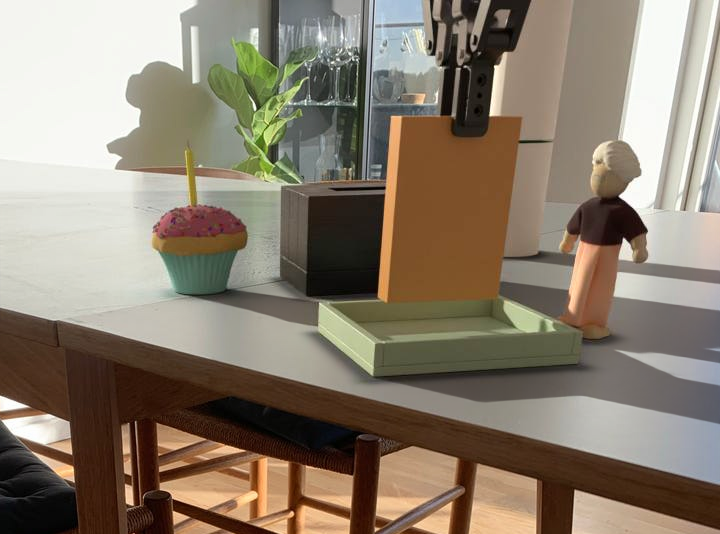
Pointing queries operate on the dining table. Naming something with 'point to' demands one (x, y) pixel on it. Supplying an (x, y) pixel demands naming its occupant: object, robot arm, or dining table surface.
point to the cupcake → (198, 242)
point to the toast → (446, 209)
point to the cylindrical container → (532, 114)
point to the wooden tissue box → (332, 237)
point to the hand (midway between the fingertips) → (460, 134)
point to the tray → (446, 335)
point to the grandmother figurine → (602, 239)
